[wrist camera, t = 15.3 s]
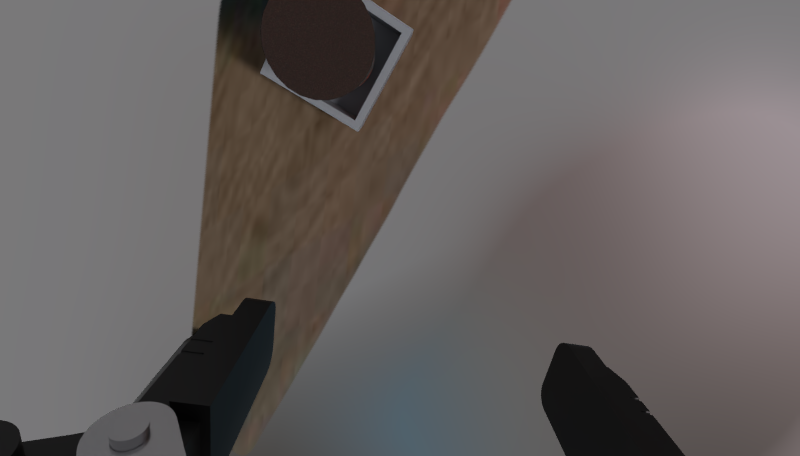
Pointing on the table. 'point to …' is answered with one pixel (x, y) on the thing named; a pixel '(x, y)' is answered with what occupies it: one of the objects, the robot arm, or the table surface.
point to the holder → (387, 53)
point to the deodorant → (319, 45)
